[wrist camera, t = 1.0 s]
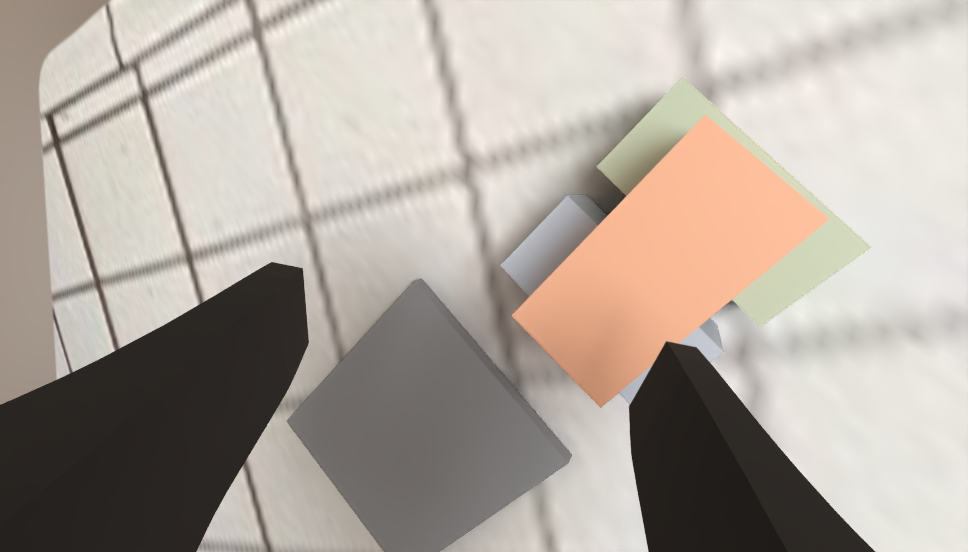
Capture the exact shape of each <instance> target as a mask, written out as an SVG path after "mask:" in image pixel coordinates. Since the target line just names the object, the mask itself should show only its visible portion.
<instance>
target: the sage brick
mask: <svg viewBox="0 0 968 552" xmlns="http://www.w3.org/2000/svg"><path fill="white" fill-rule="evenodd" d="M704 115H706V116H708V117H709V118H710V119H711V120H712V121H714V122H715V123H716V124H717V125H718V126H720V127H721V128H722V129H723V130H724V131H725V132H727V133H728V134H729V135H730V136H731V137H733V138H734V139H735V140H736V141H737V142H739V143H740V144H741V145H742V146H743V147H745V148H746V149H747V150H748V151H749V152H750V153H752V154H753V155H754V156H755V157H756V158H758V159H759V160H760V161H761V162H762V163H764V164H765V165H766V166H767V167H768V168H770V169H771V170H772V171H773V172H774V173H776V174H777V175H778V176H779V177H780V178H781V179H783V180H784V181H785V182H786V183H787V184H789V185H790V186H791V187H792V188H793V189H795V190H796V191H797V192H798V193H799V194H801V195H802V196H803V197H804V198H805V199H806V200H808V201H809V202H810V203H811V204H812V205H814V206H815V207H816V208H817V209H818V210H820V211H821V212H822V213H823V214H824V215H826V216H827V217H828V218H829V220H828V221H827V222H826V223H824V224H823V225H822V226H821V227H820V228H818V229H817V230H816V231H815V232H814V233H812V234H811V235H810V236H809V237H807V238H806V239H805V240H804V241H803V242H801V243H800V244H799V245H798V246H797V247H795V248H794V249H793V250H792V251H790V252H789V253H788V254H787V255H786V256H784V257H783V258H782V259H781V260H779V261H778V262H777V263H776V264H775V265H773V266H772V267H771V268H770V269H769V270H767V271H766V272H765V273H764V274H762V275H761V276H760V277H759V278H758V279H756V280H755V281H754V282H753V283H752V284H750V285H749V286H748V287H747V288H745V289H744V290H743V291H742V292H741V293H739V294H738V295H737V296H736V297H735V298H733V299H732V300H733V301H734V302H735V303H736V304H737V305H738V306H739V307H740V308H741V309H742V310H743V311H744V312H745V313H746V314H747V315H748V316H749V317H750V318H751V319H752V320H753V321H754V322H755V323H756V324H757V325H758V326H759V327H761V326H762V325H764V324H765V323H767V322H768V321H769V320H771V319H772V318H774V317H775V316H776V315H778V314H779V313H781V312H782V311H783V310H785V309H786V308H787V307H789V306H790V305H792V304H793V303H794V302H796V301H797V300H799V299H800V298H801V297H803V296H804V295H806V294H807V293H808V292H810V291H811V290H813V289H814V288H815V287H817V286H818V285H819V284H821V283H822V282H824V281H825V280H826V279H828V278H829V277H831V276H832V275H833V274H835V273H836V272H838V271H839V270H840V269H842V268H843V267H845V266H846V265H847V264H849V263H850V262H851V261H853V260H854V259H856V258H857V257H858V256H860V255H861V254H863V253H864V252H865V251H867V250H868V249H870V248H871V246H870V245H868V244H867V243H866V242H865V241H864V240H863V239H862V238H861V237H860V236H858V235H857V234H856V233H855V232H854V231H853V230H852V229H851V228H850V227H848V226H847V225H846V224H845V223H844V222H843V221H842V220H841V219H840V218H838V217H837V216H836V215H835V214H834V213H833V212H832V211H831V210H830V209H828V208H827V207H826V206H825V205H824V204H823V203H822V202H821V201H820V200H818V199H817V198H816V197H815V196H814V195H813V194H812V193H811V192H810V191H808V190H807V189H806V188H805V187H804V186H803V185H802V184H801V183H800V182H799V181H797V180H796V179H795V178H794V177H793V176H792V175H791V174H790V173H789V172H787V171H786V170H785V169H784V168H783V167H782V166H781V165H780V164H779V163H777V162H776V161H775V160H774V159H773V158H772V157H771V156H770V155H769V154H767V153H766V152H765V151H764V150H763V149H762V148H761V147H760V146H759V145H757V144H756V143H755V142H754V141H753V140H752V139H751V138H750V137H749V136H747V135H746V134H745V133H744V132H743V131H742V130H741V129H740V128H739V127H737V126H736V125H735V124H734V123H733V122H732V121H731V120H730V119H729V118H727V117H726V116H725V115H724V114H723V113H722V112H721V111H720V110H719V109H718V108H716V107H715V106H714V105H713V104H712V103H711V102H710V101H709V100H708V99H706V98H705V97H704V96H703V95H702V94H701V93H700V92H699V91H698V90H696V89H695V88H694V87H693V86H692V85H691V84H690V83H689V82H688V81H686V80H685V79H684V78H683V77H682V78H681V79H680V80H679V81H678V82H677V83H676V84H675V85H674V86H673V87H672V88H671V90H670V91H669V92H668V93H667V94H666V95H665V96H664V97H663V98H662V99H661V100H660V101H659V102H658V103H657V104H656V105H655V106H654V107H653V108H652V109H651V110H650V111H649V112H648V113H647V114H646V116H645V117H644V118H643V119H642V120H641V121H640V122H639V123H638V124H637V125H636V126H635V127H634V128H633V129H632V130H631V131H630V132H629V133H628V134H627V135H626V136H625V137H624V138H623V139H622V141H621V142H620V143H619V144H618V145H617V146H616V147H615V148H614V149H613V150H612V151H611V152H610V153H609V154H608V155H607V156H606V157H605V158H604V159H603V160H602V161H601V162H600V163H599V164H598V165H597V168H598V169H599V170H600V171H601V172H602V173H603V174H604V175H605V176H606V177H607V178H608V179H609V180H610V181H611V182H612V183H613V184H614V185H615V186H617V187H618V188H619V189H620V190H621V191H622V192H623V193H624V194H625V195H626V196H627V195H628V194H629V193H630V192H631V191H632V190H633V189H634V188H635V187H636V186H637V185H638V184H639V183H640V182H641V181H642V180H643V179H644V177H645V176H646V175H647V174H648V173H649V172H650V171H651V170H652V169H653V168H654V167H655V166H656V165H657V164H658V163H659V162H660V161H661V160H662V159H663V158H664V157H665V156H666V155H667V154H668V153H669V152H670V151H671V149H672V148H673V147H674V146H675V145H676V144H677V143H678V142H679V141H680V140H681V139H682V138H683V137H684V136H685V135H686V134H687V133H688V132H689V131H690V130H691V129H692V128H693V127H694V126H695V125H696V124H697V122H698V121H699V120H700V119H701V118H702V117H703V116H704Z"/></svg>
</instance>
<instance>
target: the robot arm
mask: <svg viewBox="0 0 968 552" xmlns="http://www.w3.org/2000/svg"><path fill="white" fill-rule="evenodd" d="M308 343H309V340H308V328H307V315H306V303H305V290H304V278H303V268H299V267H294V266H289V265H284V264H279V263H274V262H271V263H269V264H268V265H266V266H264V267H262V268H260V269H259V270H257V271H255V272H254V273H252V274H250V275H248V276H247V277H245V278H243V279H242V280H240V281H238V282H237V283H235V284H233V285H232V286H230V287H228V288H227V289H225V290H223V291H222V292H220V293H218V294H217V295H215V296H213V297H212V298H210V299H208V300H207V301H205V302H203V303H201V304H200V305H198V306H196V307H195V308H193V309H191V310H189V311H188V312H186V313H184V314H183V315H181V316H179V317H177V318H176V319H174V320H172V321H170V322H169V323H167V324H165V325H163V326H161V327H160V328H158V329H156V330H154V331H152V332H150V333H148V334H146V335H144V336H143V337H141V338H139V339H137V340H135V341H133V342H131V343H129V344H128V345H126V346H124V347H122V348H120V349H118V350H116V351H114V352H112V353H111V354H109V355H107V356H105V357H103V358H101V359H99V360H97V361H95V362H93V363H91V364H89V365H87V366H85V367H83V368H81V369H79V370H77V371H75V372H72V373H70V374H68V375H66V376H64V377H62V378H60V379H58V380H55V381H53V382H51V383H49V384H46V385H44V386H42V387H40V388H38V389H35V390H33V391H31V392H29V393H26V394H24V395H22V396H20V397H18V398H15V399H13V400H11V401H8V402H6V403H4V404H1V405H0V552H196V551H197V549H198V547H199V545H200V543H201V541H202V539H203V537H204V535H205V533H206V530H207V528H208V526H209V524H210V522H211V520H212V518H213V516H214V514H215V512H216V511H217V509H218V507H219V505H220V503H221V502H222V500H223V498H224V496H225V494H226V492H227V491H228V489H229V487H230V486H231V484H232V482H233V481H234V479H235V477H236V476H237V474H238V472H239V471H240V469H241V467H242V466H243V464H244V462H245V461H246V459H247V457H248V456H249V454H250V453H251V451H252V449H253V448H254V446H255V444H256V443H257V441H258V439H259V438H260V436H261V434H262V433H263V431H264V429H265V428H266V426H267V424H268V423H269V421H270V419H271V418H272V416H273V414H274V413H275V411H276V409H277V408H278V406H279V404H280V402H281V401H282V399H283V397H284V396H285V394H286V392H287V390H288V389H289V387H290V385H291V382H292V380H293V378H294V376H295V374H296V371H297V369H298V367H299V365H300V362H301V360H302V358H303V355H304V353H305V350H306V348H307V346H308ZM629 417H630V440H631V455H632V461H633V467H634V473H635V479H636V485H637V490H638V496H639V501H640V507H641V512H642V518H643V523H644V529H645V534H646V540H647V545H648V550H649V552H875V551H874V550H873V549H872V548H871V547H870V546H869V545H868V544H867V543H866V542H865V541H864V540H863V539H862V538H861V537H860V536H859V535H858V534H857V533H856V532H855V531H854V530H853V529H852V528H851V527H850V526H849V525H848V524H847V523H846V522H845V521H844V519H843V518H842V517H841V516H840V515H839V514H838V513H837V512H836V511H835V510H834V509H833V508H832V507H831V506H830V504H829V503H828V502H827V501H826V500H825V499H824V498H823V497H822V496H821V494H820V493H819V492H818V491H817V490H816V489H815V488H814V487H813V486H812V485H811V483H810V482H809V481H808V480H807V479H806V478H805V477H804V476H803V475H802V473H801V472H800V471H799V470H798V469H797V468H796V467H795V465H794V464H793V463H792V462H791V461H790V460H789V458H788V457H787V456H786V455H785V454H784V453H783V451H782V450H781V449H780V448H779V447H778V446H777V444H776V443H775V442H774V441H773V440H772V438H771V437H770V436H769V435H768V434H767V432H766V431H765V430H764V429H763V428H762V426H761V425H760V424H759V423H758V421H757V420H756V419H755V418H754V417H753V415H752V414H751V413H750V412H749V410H748V409H747V408H746V407H745V405H744V404H743V403H742V402H741V400H740V399H739V398H738V397H737V395H736V394H735V393H734V392H733V390H732V389H731V388H730V387H729V386H728V384H727V383H726V382H725V381H724V379H723V378H722V377H721V376H720V374H719V373H718V372H717V371H716V369H715V368H714V367H713V366H712V365H711V363H710V362H709V361H708V360H707V359H706V357H705V356H704V355H703V354H702V353H701V352H700V350H699V349H698V348H697V347H693V346H688V345H683V344H678V343H673V342H668V341H666V342H665V344H664V346H663V348H662V349H661V351H660V353H659V355H658V356H657V358H656V360H655V362H654V363H653V365H652V367H651V369H650V370H649V372H648V374H647V376H646V377H645V379H644V381H643V383H642V384H641V386H640V388H639V390H638V391H637V393H636V395H635V397H634V399H633V400H632V402H631V404H630V406H629Z"/></svg>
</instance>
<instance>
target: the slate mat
mask: <svg viewBox="0 0 968 552" xmlns="http://www.w3.org/2000/svg"><path fill="white" fill-rule="evenodd" d="M287 423H288V424H289V425H290V427H291V428H292V429H293V431H294V432H295V433H296V435H297V436H298V437H299V439H300V440H301V441H302V443H303V444H304V445H305V447H306V448H307V449H308V451H309V452H310V453H311V455H312V456H313V457H314V459H315V460H316V461H317V463H318V464H319V465H320V467H321V468H322V469H323V471H324V472H325V473H326V475H327V476H328V477H329V479H330V480H331V481H332V483H333V484H334V485H335V487H336V488H337V489H338V491H339V492H340V493H341V495H342V496H343V498H344V499H345V500H346V502H347V503H348V504H349V506H350V507H351V508H352V510H353V511H354V512H355V514H356V515H357V516H358V518H359V519H360V520H361V522H362V523H363V524H364V526H365V527H366V528H367V530H368V531H369V532H370V534H371V535H372V536H373V538H374V539H375V540H376V542H377V543H378V544H379V546H380V547H381V548H382V550H383V551H384V552H440V551H441V550H443V549H444V548H445V547H447V546H448V545H450V544H451V543H453V542H454V541H456V540H457V539H459V538H460V537H462V536H463V535H464V534H466V533H467V532H469V531H470V530H472V529H473V528H475V527H476V526H478V525H479V524H480V523H482V522H483V521H485V520H486V519H488V518H489V517H491V516H492V515H494V514H495V513H496V512H498V511H499V510H501V509H502V508H504V507H505V506H507V505H508V504H510V503H511V502H513V501H514V500H515V499H517V498H518V497H520V496H521V495H523V494H524V493H526V492H527V491H529V490H530V489H531V488H533V487H534V486H536V485H537V484H539V483H540V482H542V481H543V480H545V479H546V478H548V477H549V476H550V475H552V474H553V473H555V472H556V471H558V470H559V469H561V468H562V467H564V466H565V465H566V464H568V463H569V461H570V458H571V456H572V454H571V453H570V452H569V451H568V450H567V449H566V447H565V446H564V445H563V444H562V443H561V442H560V440H559V439H558V438H557V437H556V436H555V435H554V433H553V432H552V431H551V430H550V429H549V427H548V426H547V425H546V424H545V423H544V422H543V420H542V419H541V418H540V417H539V416H538V415H537V413H536V412H535V411H534V410H533V409H532V408H531V406H530V405H529V404H528V403H527V402H526V400H525V399H524V398H523V397H522V396H521V395H520V393H519V392H518V391H517V390H516V389H515V388H514V386H513V385H512V384H511V383H510V382H509V381H508V379H507V378H506V377H505V376H504V375H503V373H502V372H501V371H500V370H499V369H498V368H497V366H496V365H495V364H494V363H493V362H492V361H491V359H490V358H489V357H488V356H487V355H486V354H485V352H484V351H483V350H482V349H481V348H480V346H479V345H478V344H477V343H476V342H475V341H474V339H473V338H472V337H471V336H470V335H469V334H468V332H467V331H466V330H465V329H464V328H463V327H462V325H461V324H460V323H459V322H458V321H457V320H456V318H455V317H454V316H453V315H452V314H451V312H450V311H449V310H448V309H447V308H446V307H445V305H444V304H443V303H442V302H441V301H440V300H439V298H438V297H437V296H436V295H435V294H434V293H433V291H432V290H431V289H430V288H429V287H428V285H427V284H426V283H425V282H424V281H423V280H422V279H419V280H416V281H414V282H413V283H412V284H411V285H410V286H409V287H408V288H407V290H406V291H405V292H404V293H403V294H402V295H401V296H400V297H399V298H398V299H397V300H396V302H395V303H394V304H393V305H392V306H391V307H390V308H389V309H388V310H387V311H386V313H385V314H384V315H383V316H382V317H381V318H380V319H379V320H378V321H377V322H376V324H375V325H374V326H373V327H372V328H371V329H370V330H369V331H368V332H367V333H366V334H365V336H364V337H363V338H362V339H361V340H360V341H359V342H358V343H357V344H356V345H355V347H354V348H353V349H352V350H351V351H350V352H349V353H348V354H347V355H346V356H345V358H344V359H343V360H342V361H341V362H340V363H339V364H338V365H337V366H336V367H335V368H334V370H333V371H332V372H331V373H330V374H329V375H328V376H327V377H326V378H325V379H324V381H323V382H322V383H321V384H320V385H319V386H318V387H317V388H316V389H315V390H314V392H313V393H312V394H311V395H310V396H309V397H308V398H307V399H306V400H305V401H304V402H303V404H302V405H301V406H300V407H299V408H298V409H297V410H296V411H295V412H294V413H293V415H292V416H291V417H290V418H289V419H288V420H287Z"/></svg>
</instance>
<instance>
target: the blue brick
mask: <svg viewBox="0 0 968 552" xmlns="http://www.w3.org/2000/svg"><path fill="white" fill-rule="evenodd" d="M606 217H607V215H606V214H605V213H604V212H603V211H602V210H601V209H600V208H599V207H598V206H597V205H596V204H595V203H594V202H593V201H592V200H591V199H590V198H589V197H588V196H587V195H567V196H566V197H565V198H564V199H563V200H562V201H561V202H560V203H559V204H558V206H557V207H556V208H555V209H554V210H553V211H552V212H551V213H550V214H549V215H548V216H547V217H546V218H545V219H544V220H543V221H542V222H541V223H540V224H539V225H538V226H537V228H536V229H535V230H534V231H533V232H532V233H531V234H530V235H529V236H528V237H527V238H526V239H525V240H524V241H523V242H522V243H521V244H520V245H519V246H518V247H517V248H516V249H515V251H514V252H513V253H512V254H511V255H510V256H509V257H508V258H507V259H506V260H505V261H504V262H503V263H502V264H501V265H500V266H501V267H502V268H503V269H504V270H505V271H506V273H507V274H508V275H509V276H510V277H511V278H512V279H513V280H514V281H515V282H516V283H517V284H518V285H519V286H520V288H521V289H522V290H523V291H524V292H525V293H526V294H527V295H528V296H529V297H530V296H531V295H532V294H533V293H534V292H535V291H536V290H537V289H538V288H539V286H540V285H541V284H542V283H543V282H544V281H545V280H546V279H547V278H548V277H549V276H550V275H551V274H552V273H553V272H554V271H555V270H556V269H557V268H558V267H559V266H560V265H561V264H562V263H563V262H564V261H565V260H566V258H567V257H568V256H569V255H570V254H571V253H572V252H573V251H574V250H575V249H576V248H577V247H578V246H579V245H580V244H581V243H582V242H583V241H584V240H585V239H586V238H587V237H588V236H589V235H590V234H591V233H592V231H593V230H594V229H595V228H596V227H597V226H598V225H599V224H600V223H601V222H602V221H603V220H604V219H605V218H606ZM679 344H683V345H688V346H693V347H697V348H698V349H699V350H700V352H701V353H702V354H703V355H704V356H705V357H706V359H707V360H708V361H709V362H711V361H712V360H713V359H715V358H716V357H717V356H719V355H720V354H722V353H723V352H724V351H723V347H722V343H721V339H720V334H719V330H718V326H717V324H716V323H715V322H714V321H713V320H712V319H711V318H709V319H708V320H707V321H705V322H704V323H703V324H702V325H701V326H699V327H698V328H697V329H696V330H694V331H693V332H692V333H691V334H690V335H688V336H687V337H686V338H685V339H683V340H682V341H681V342H680V343H679ZM651 367H652V366H651ZM651 367H649V368H648V369H647V370H646V371H645V372H643V373H642V374H641V375H640V376H639V377H637V378H636V379H635V380H634V381H632V382H631V383H630V384H629V385H628V386H626V387H625V388H624V389H623V390H622V391H620V392H619V394H620V395H621V396H622V397H623V398H624V399H625V400H626V401H627V402H628V403H629V405H630V404H631V402H632V400H633V399H634V397H635V395H636V393H637V391H638V390H639V388H640V386H641V384H642V383H643V381H644V379H645V377H646V376H647V374H648V372H649V370H650V369H651Z"/></svg>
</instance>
